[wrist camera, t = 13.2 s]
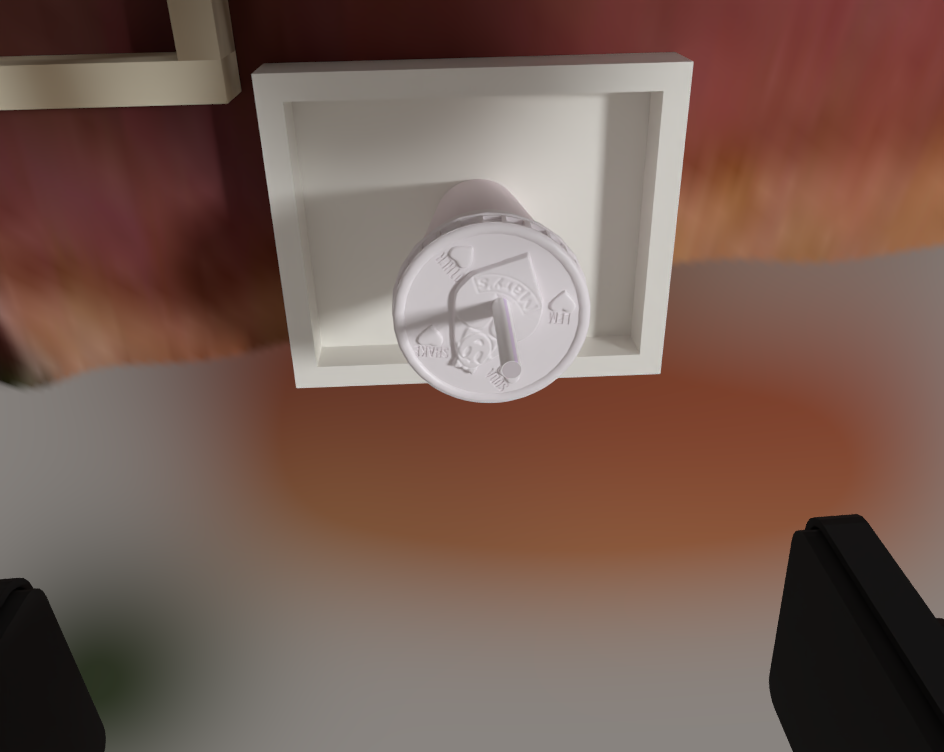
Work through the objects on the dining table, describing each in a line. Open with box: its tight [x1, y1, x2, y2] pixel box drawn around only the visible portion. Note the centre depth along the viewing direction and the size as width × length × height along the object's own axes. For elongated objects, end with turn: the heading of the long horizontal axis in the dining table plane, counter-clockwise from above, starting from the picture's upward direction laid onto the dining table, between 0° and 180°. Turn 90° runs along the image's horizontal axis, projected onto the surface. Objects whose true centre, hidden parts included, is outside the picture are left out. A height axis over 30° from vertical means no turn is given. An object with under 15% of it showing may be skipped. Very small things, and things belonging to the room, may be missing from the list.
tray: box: [251, 52, 693, 388], centre depth 34 cm, size 16×13×2 cm
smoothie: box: [392, 179, 590, 403], centre depth 28 cm, size 6×6×14 cm
